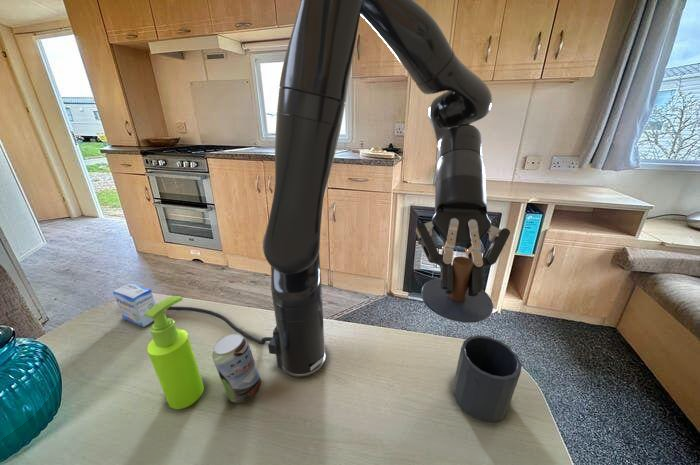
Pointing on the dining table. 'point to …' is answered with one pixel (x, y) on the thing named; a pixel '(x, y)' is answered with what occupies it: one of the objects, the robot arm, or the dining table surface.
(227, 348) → the beverage can
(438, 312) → the lid
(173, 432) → the dining table surface
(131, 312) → the medicine box
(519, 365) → the tin
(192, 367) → the soap dispenser
